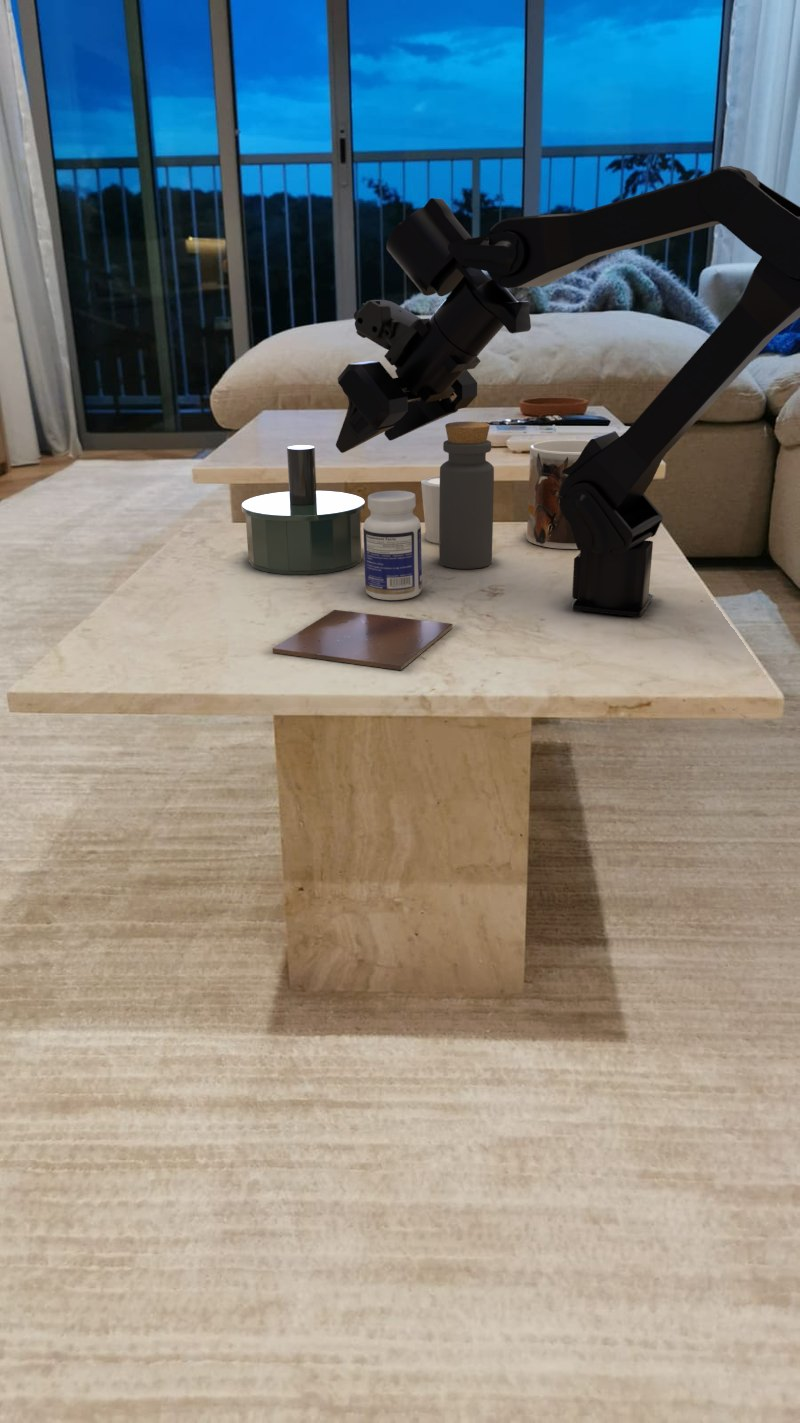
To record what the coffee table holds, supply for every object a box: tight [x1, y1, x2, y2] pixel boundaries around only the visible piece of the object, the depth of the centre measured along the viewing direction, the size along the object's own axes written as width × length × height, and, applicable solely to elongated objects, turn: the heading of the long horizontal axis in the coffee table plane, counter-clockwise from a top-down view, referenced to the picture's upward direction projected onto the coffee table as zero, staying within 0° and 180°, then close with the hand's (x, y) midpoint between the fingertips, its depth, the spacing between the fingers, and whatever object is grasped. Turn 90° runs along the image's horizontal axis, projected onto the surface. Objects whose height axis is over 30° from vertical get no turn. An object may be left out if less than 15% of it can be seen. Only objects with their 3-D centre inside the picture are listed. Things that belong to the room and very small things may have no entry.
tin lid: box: [241, 444, 366, 521], centre depth 118 cm, size 14×14×7 cm
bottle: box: [438, 421, 495, 570], centre depth 116 cm, size 6×6×15 cm
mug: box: [526, 439, 591, 550], centre depth 125 cm, size 10×12×11 cm
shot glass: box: [420, 476, 440, 545], centre depth 128 cm, size 7×7×7 cm
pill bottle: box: [362, 490, 423, 601], centre depth 106 cm, size 6×6×10 cm
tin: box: [245, 511, 363, 576], centre depth 120 cm, size 13×13×6 cm
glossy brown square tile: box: [272, 609, 453, 671], centre depth 95 cm, size 12×12×1 cm
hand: (364, 443), depth 112 cm, fingers open, 9 cm apart
